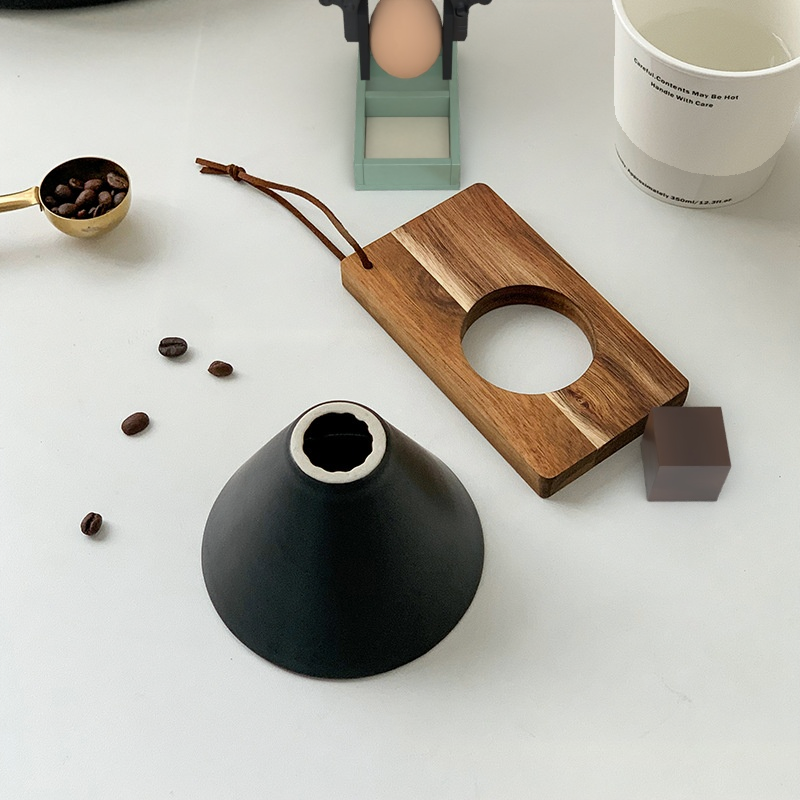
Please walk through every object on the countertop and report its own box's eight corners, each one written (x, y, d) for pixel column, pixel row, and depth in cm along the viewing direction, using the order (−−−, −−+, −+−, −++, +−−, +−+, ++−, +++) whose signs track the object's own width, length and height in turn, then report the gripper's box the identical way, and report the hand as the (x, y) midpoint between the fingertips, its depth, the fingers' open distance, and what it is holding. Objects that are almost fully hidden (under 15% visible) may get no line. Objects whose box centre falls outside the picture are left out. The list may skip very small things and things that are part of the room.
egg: (453, 58, 99) (456, -23, 93) (425, 104, 96) (425, 24, 90) (387, 39, 101) (385, -42, 94) (357, 84, 98) (353, 4, 91)
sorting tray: (455, 55, 113) (456, 28, 111) (459, 189, 104) (460, 164, 101) (360, 55, 114) (358, 29, 111) (355, 190, 104) (353, 164, 101)
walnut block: (707, 442, 89) (721, 406, 85) (716, 501, 86) (731, 466, 82) (640, 443, 89) (651, 406, 85) (647, 501, 87) (659, 466, 82)
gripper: (256, -172, 77) (288, 100, 96) (550, -174, 77) (523, 100, 96) (264, -234, 81) (293, 39, 101) (543, -236, 81) (519, 38, 100)
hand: (406, 68), depth 98 cm, fingers closed on egg, 6 cm apart
